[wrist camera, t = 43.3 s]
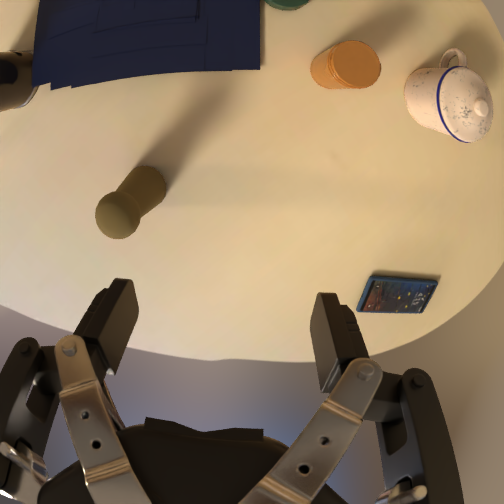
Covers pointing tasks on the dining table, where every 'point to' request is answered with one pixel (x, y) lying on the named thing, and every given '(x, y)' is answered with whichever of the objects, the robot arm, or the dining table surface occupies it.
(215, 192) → the dining table surface
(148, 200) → the brown rounded tall piece
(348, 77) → the jar
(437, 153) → the dining table surface
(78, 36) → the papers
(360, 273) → the dining table surface
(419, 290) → the smartphone
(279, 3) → the lid
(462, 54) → the teacup with lid
